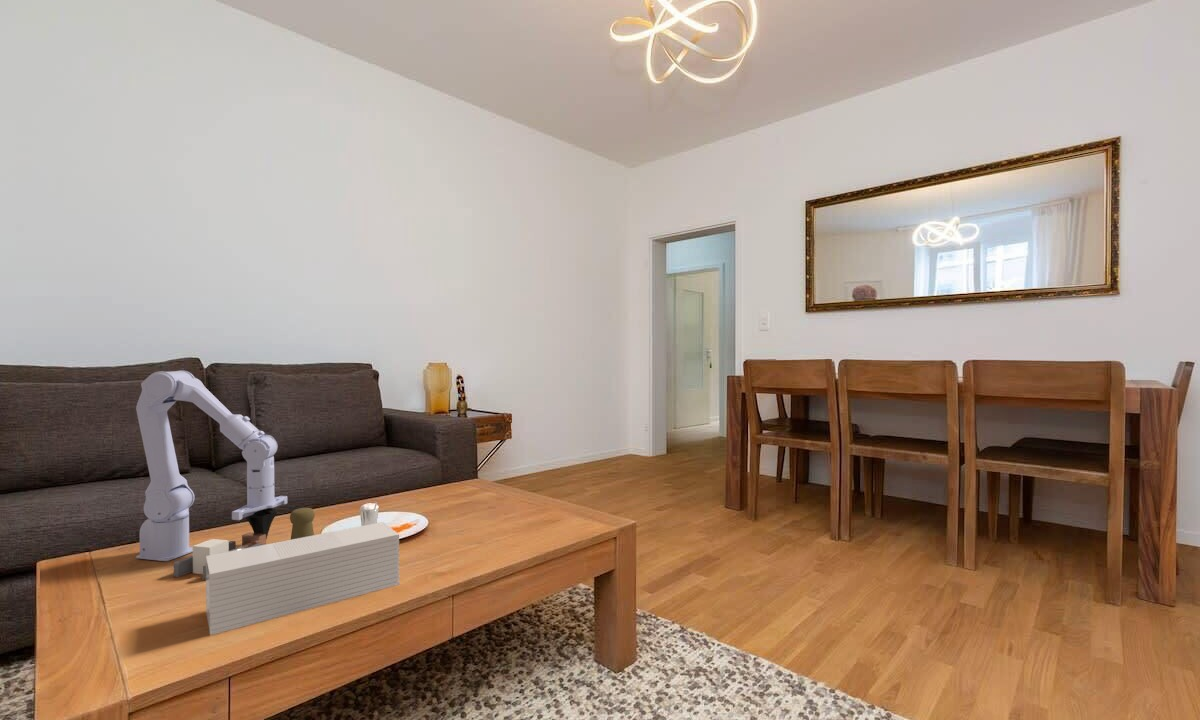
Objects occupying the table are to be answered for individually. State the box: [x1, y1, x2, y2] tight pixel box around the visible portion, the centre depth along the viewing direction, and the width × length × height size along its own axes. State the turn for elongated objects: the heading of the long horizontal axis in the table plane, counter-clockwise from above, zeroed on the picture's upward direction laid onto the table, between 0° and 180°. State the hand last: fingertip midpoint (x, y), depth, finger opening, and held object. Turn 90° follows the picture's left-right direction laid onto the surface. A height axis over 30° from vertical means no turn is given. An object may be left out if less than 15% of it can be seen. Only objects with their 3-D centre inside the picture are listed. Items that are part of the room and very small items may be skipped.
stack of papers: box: [205, 521, 400, 636], centre depth 106 cm, size 32×11×11 cm, turn 129°
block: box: [192, 538, 230, 575], centre depth 120 cm, size 5×5×6 cm
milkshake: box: [359, 501, 380, 526], centre depth 139 cm, size 4×5×10 cm
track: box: [173, 540, 263, 581], centre depth 122 cm, size 9×14×3 cm, turn 167°
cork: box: [289, 507, 316, 540], centre depth 129 cm, size 6×6×11 cm
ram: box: [229, 531, 267, 552], centre depth 127 cm, size 6×10×4 cm, turn 167°
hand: (261, 540), depth 133 cm, fingers closed
